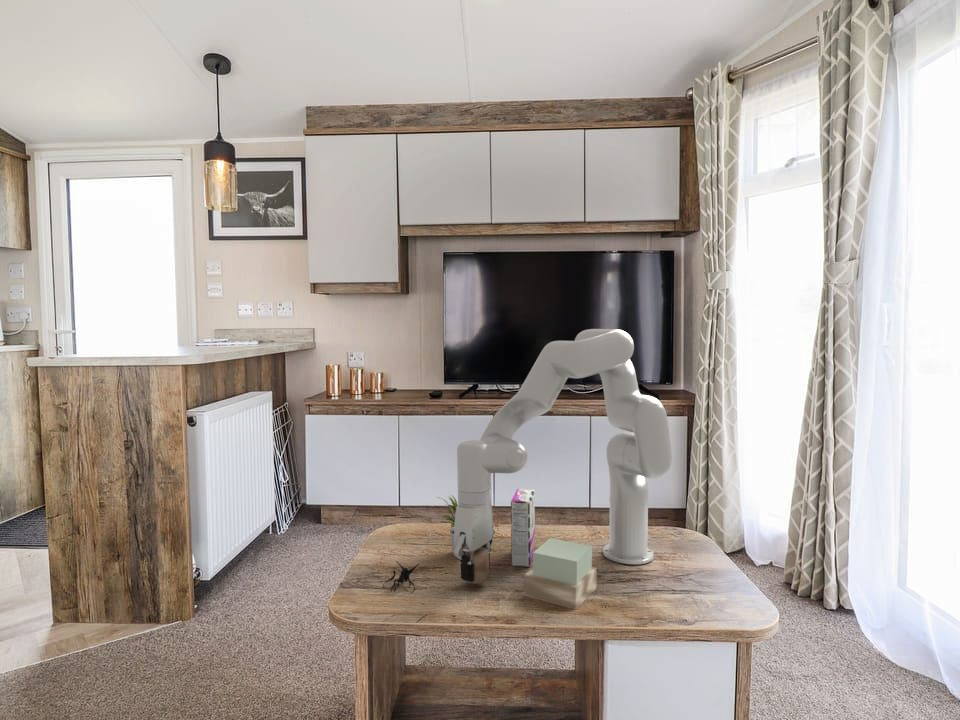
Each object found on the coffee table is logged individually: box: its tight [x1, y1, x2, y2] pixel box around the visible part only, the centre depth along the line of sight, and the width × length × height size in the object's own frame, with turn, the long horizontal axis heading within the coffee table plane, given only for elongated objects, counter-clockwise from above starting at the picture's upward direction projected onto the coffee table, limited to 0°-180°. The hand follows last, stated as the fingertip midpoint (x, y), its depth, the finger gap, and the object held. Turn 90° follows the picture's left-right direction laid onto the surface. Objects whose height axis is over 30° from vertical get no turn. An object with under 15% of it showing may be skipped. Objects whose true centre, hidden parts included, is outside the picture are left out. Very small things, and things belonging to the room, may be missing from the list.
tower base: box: [523, 566, 598, 611], centre depth 127 cm, size 12×12×5 cm
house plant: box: [437, 494, 469, 558], centre depth 148 cm, size 14×14×16 cm
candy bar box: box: [510, 488, 536, 568], centre depth 146 cm, size 11×5×16 cm, turn 168°
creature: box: [382, 560, 420, 594], centre depth 129 cm, size 8×5×8 cm
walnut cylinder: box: [463, 547, 490, 584], centre depth 130 cm, size 6×6×6 cm
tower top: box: [532, 537, 593, 585], centre depth 127 cm, size 10×10×5 cm
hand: (475, 573), depth 130 cm, fingers closed on walnut cylinder, 6 cm apart
